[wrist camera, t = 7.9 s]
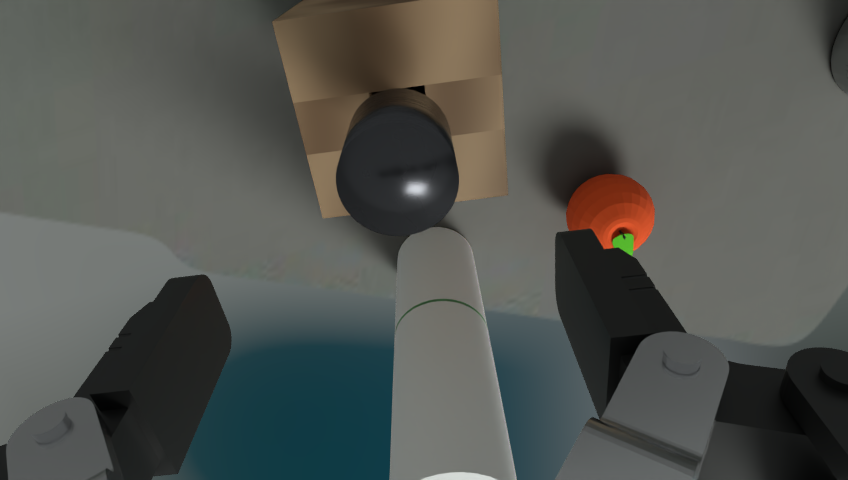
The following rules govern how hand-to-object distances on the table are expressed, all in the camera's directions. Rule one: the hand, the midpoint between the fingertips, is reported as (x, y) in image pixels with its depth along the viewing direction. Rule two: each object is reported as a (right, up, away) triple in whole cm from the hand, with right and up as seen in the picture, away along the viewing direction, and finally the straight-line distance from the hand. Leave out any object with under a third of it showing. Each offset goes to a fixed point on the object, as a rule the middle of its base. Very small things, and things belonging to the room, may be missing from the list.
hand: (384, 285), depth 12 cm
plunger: (-1, +15, +25) cm, 30 cm away
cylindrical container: (+2, -1, +38) cm, 38 cm away
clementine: (+16, +5, +35) cm, 39 cm away
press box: (-1, +16, +27) cm, 32 cm away
